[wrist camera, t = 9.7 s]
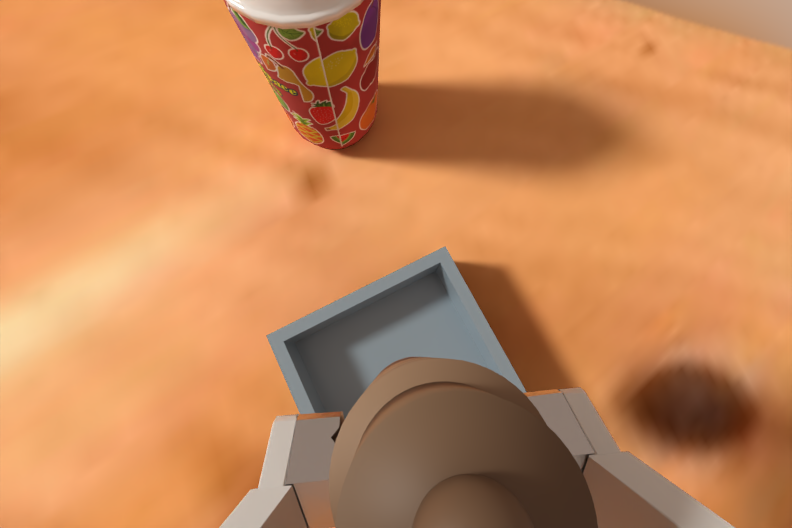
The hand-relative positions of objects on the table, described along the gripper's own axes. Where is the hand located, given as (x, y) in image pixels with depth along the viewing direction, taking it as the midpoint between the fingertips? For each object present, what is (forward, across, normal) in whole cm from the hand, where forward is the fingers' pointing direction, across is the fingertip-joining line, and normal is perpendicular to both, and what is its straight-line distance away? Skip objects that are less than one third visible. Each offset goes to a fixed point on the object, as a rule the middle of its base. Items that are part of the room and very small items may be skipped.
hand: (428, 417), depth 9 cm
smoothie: (+28, +4, -1) cm, 28 cm away
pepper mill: (+4, 0, +5) cm, 6 cm away
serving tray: (+13, 0, +14) cm, 19 cm away
